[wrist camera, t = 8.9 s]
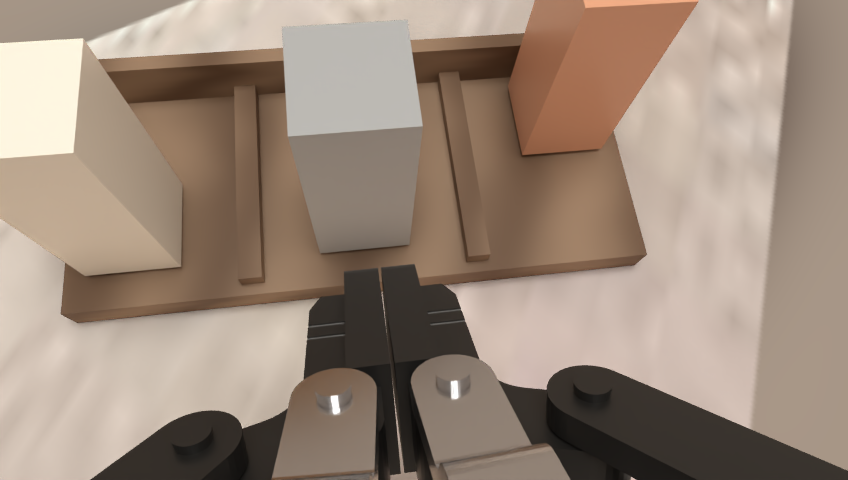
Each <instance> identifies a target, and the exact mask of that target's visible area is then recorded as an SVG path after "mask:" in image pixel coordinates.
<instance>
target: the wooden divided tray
mask: <svg viewBox="0 0 848 480" xmlns="http://www.w3.org/2000/svg"><path fill="white" fill-rule="evenodd" d="M524 34H525V33H521V34H505V35H489V36H472V37H456V38H440V39H424V40H410V41H411V48H412V55H413V62H414V69H415V76H416V83H417V90H418V96H419V103H420V110H421V117H422V124H423V129H422V138H421V147H420V156H419V164H418V173H417V182H416V191H415V200H414V208H413V217H412V226H411V235H410V244H409V245H402V246H391V247H381V248H371V249H360V250H350V251H340V252H329V253H320V251H319V247H318V244H317V240H316V236H315V233H314V229H313V226H312V222H311V218H310V215H309V211H308V207H307V204H306V200H305V197H304V193H303V189H302V186H301V182H300V179H299V175H298V171H297V168H296V164H295V160H294V157H293V153H292V150H291V146H290V142H289V139H288V129H287V111H286V93H285V74H284V56H283V48H277V49H261V50H245V51H229V52H212V53H196V54H180V55H164V56H147V57H131V58H115V59H99V60H98V61H99V62H100V64H101V65H102V67H103V68H104V70H105V71H106V73H107V74H108V76H109V77H110V78H111V80H112V81H113V83H114V84H115V86H116V87H117V89H118V90H119V92H120V93H121V95H122V96H123V98H124V99H125V101H126V102H127V104H128V105H129V106H130V108H131V109H132V111H133V112H134V114H135V115H136V117H137V118H138V120H139V121H140V123H141V124H142V126H143V127H144V129H145V130H146V132H147V133H148V134H149V136H150V137H151V139H152V140H153V142H154V143H155V145H156V146H157V148H158V149H159V151H160V152H161V154H162V155H163V157H164V158H165V160H166V161H167V162H168V164H169V165H170V167H171V168H172V170H173V171H174V173H175V174H176V176H177V177H178V179H179V180H180V182H181V183H182V248H181V267H174V268H163V269H153V270H142V271H132V272H122V273H111V274H101V275H91V276H84V275H83V274H81V273H80V272H78V271H77V270H75V269H74V268H72V267H71V266H69V265H68V264H67V263H65V272H64V284H63V295H62V307H61V315H63V316H65V317H67V318H69V319H71V320H73V321H75V322H77V323H80V322H89V321H99V320H109V319H118V318H128V317H138V316H147V315H157V314H166V313H176V312H186V311H195V310H205V309H215V308H224V307H234V306H244V305H253V304H263V303H272V302H282V301H292V300H301V299H311V298H320V297H324V296H333V295H342V294H344V271H352V270H362V269H371V268H378V272H379V280H380V287H381V291H383V287H382V277H381V267H389V266H399V265H408V264H415V267H416V271H417V275H418V279H419V282H420V286H424V285H433V284H443V285H446V284H455V283H465V282H475V281H484V280H494V279H504V278H513V277H523V276H532V275H542V274H552V273H561V272H571V271H581V270H590V269H600V268H610V267H619V266H629V265H635V264H636V263H637V262H639V261H640V260H641V259H642V258H643V257H645V256H646V255H647V253H646V249H645V245H644V242H643V238H642V234H641V231H640V227H639V223H638V220H637V216H636V212H635V209H634V205H633V201H632V198H631V194H630V190H629V187H628V183H627V179H626V176H625V172H624V168H623V165H622V161H621V157H620V153H619V150H618V146H617V142H616V139H615V135H614V131H613V132H612V133H611V135H610V136H609V138H608V139H607V141H606V142H605V144H604V145H603V147H602V148H601V149H591V150H579V151H567V152H555V153H543V154H531V155H522V152H521V147H520V142H519V137H518V133H517V128H516V123H515V118H514V113H513V109H512V104H511V99H510V94H509V89H508V84H509V81H510V78H511V75H512V71H513V68H514V65H515V62H516V59H517V56H518V53H519V49H520V46H521V43H522V40H523V37H524Z"/></svg>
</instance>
